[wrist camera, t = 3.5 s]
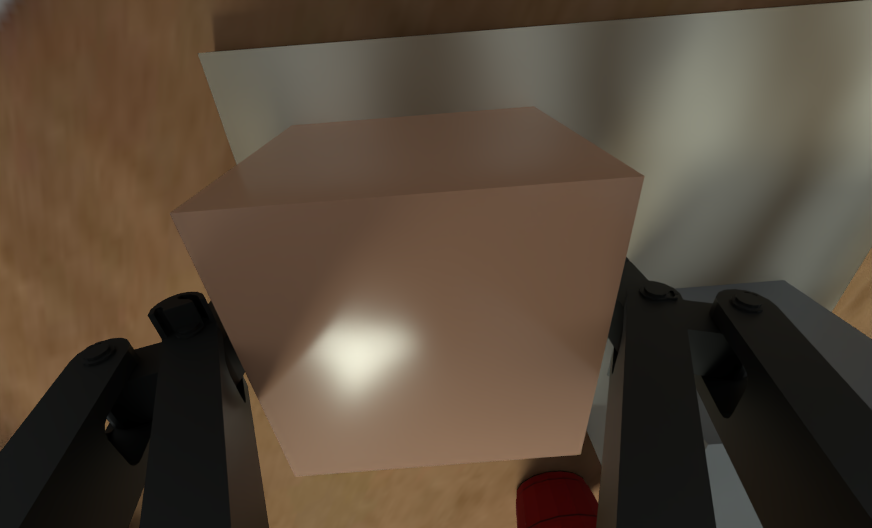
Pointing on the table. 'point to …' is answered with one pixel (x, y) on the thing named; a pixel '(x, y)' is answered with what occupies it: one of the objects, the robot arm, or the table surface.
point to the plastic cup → (556, 502)
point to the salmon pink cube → (418, 284)
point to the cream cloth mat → (636, 122)
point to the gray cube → (734, 514)
